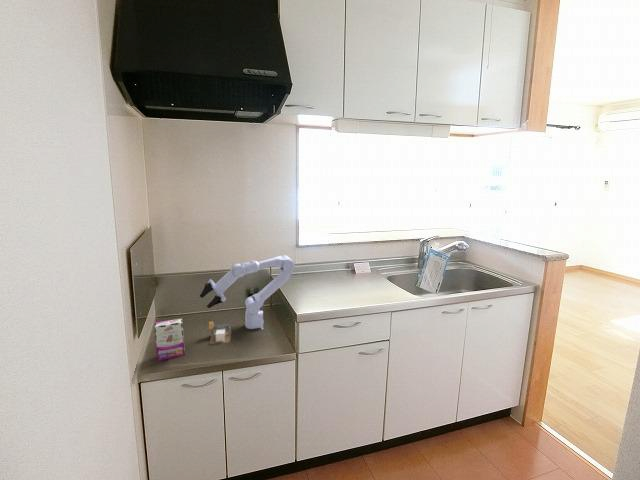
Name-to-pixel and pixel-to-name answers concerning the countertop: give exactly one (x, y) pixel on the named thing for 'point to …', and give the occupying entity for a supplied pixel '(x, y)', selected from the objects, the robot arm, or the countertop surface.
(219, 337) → the white block
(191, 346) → the countertop surface
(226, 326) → the gray and orange bar
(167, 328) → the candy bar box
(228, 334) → the brown stand with pegs
